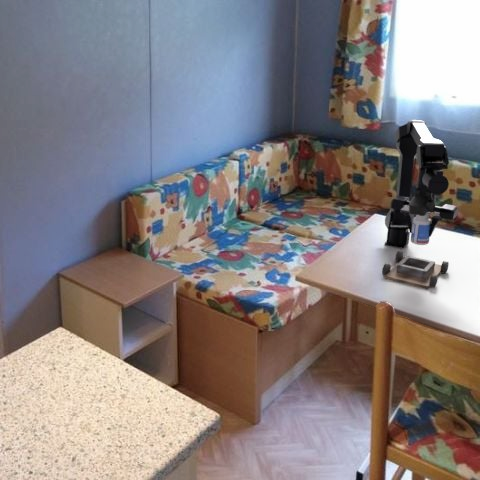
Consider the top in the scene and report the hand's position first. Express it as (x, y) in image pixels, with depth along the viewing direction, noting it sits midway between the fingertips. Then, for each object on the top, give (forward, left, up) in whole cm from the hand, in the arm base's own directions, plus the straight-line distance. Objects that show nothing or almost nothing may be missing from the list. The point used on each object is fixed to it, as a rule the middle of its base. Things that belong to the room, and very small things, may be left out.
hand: (420, 234), depth 203 cm
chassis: (0, 0, -13) cm, 13 cm away
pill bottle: (0, 0, -3) cm, 3 cm away
